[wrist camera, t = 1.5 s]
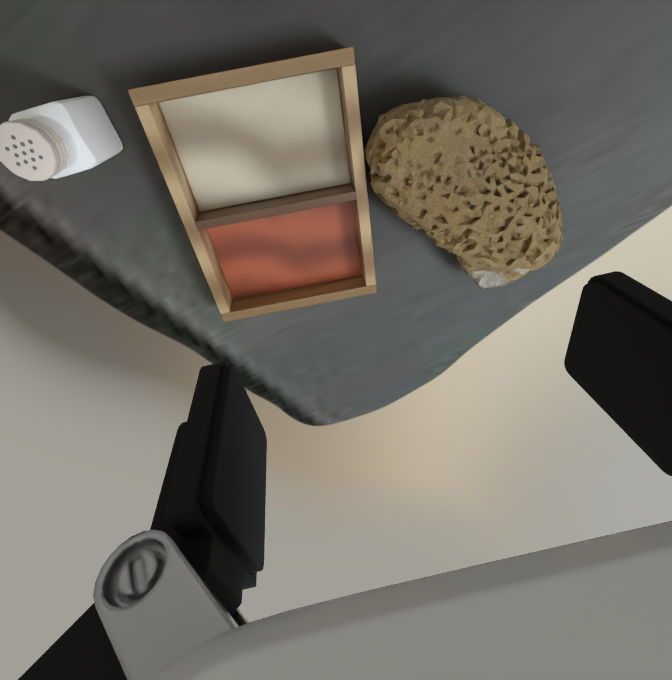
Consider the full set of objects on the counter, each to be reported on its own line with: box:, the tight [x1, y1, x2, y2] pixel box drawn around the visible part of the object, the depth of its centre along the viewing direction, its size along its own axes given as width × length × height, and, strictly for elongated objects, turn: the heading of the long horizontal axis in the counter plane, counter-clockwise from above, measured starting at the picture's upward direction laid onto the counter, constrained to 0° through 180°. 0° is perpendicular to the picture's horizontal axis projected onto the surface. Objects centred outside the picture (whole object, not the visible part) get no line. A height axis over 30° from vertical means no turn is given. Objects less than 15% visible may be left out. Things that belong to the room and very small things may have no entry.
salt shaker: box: [0, 95, 123, 181], centre depth 25 cm, size 4×4×10 cm
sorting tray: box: [128, 47, 377, 322], centre depth 33 cm, size 20×16×3 cm
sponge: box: [364, 95, 563, 288], centre depth 33 cm, size 13×8×20 cm
